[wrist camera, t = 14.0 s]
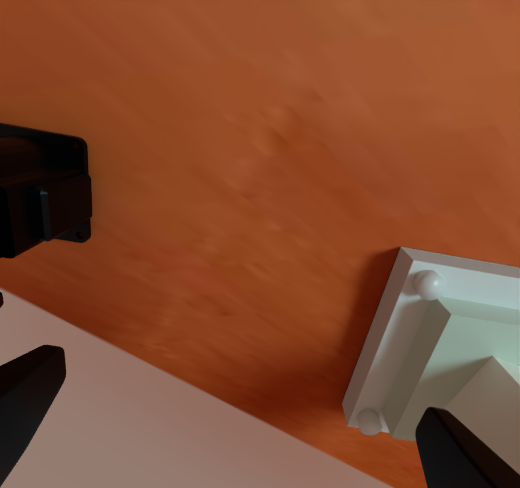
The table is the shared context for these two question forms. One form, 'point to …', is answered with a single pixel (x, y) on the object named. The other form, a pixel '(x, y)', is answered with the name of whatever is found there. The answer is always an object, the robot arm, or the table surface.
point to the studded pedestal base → (431, 338)
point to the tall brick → (493, 408)
